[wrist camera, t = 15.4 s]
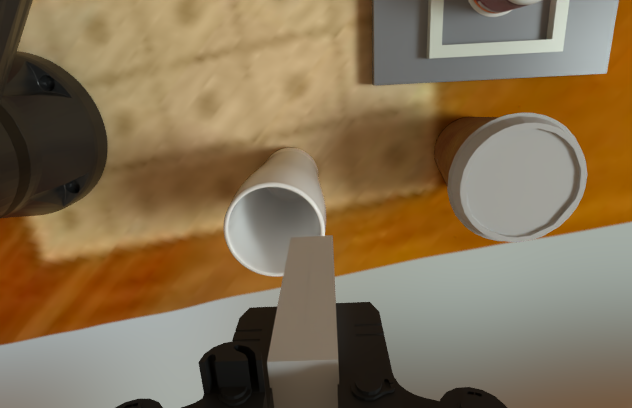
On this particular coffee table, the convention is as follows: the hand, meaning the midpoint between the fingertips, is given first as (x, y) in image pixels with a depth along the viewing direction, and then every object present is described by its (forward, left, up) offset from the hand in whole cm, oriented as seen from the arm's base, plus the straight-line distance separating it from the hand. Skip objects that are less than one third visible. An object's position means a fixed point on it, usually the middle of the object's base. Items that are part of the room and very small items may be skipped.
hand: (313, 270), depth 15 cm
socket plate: (+15, +12, -26) cm, 33 cm away
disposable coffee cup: (+14, -2, -27) cm, 30 cm away
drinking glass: (-3, -3, -27) cm, 27 cm away
